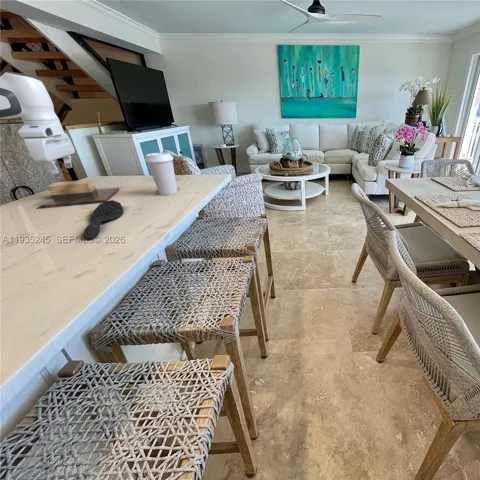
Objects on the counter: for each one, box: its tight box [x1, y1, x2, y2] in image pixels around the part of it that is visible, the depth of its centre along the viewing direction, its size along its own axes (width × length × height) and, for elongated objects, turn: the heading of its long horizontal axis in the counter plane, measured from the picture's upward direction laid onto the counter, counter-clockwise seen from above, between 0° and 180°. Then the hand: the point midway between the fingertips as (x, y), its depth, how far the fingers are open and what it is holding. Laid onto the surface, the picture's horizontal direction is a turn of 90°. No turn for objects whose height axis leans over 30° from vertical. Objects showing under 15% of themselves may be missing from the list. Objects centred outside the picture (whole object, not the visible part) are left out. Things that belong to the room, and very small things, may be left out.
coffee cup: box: [144, 152, 178, 196], centre depth 103 cm, size 10×10×15 cm
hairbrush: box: [83, 199, 124, 241], centre depth 79 cm, size 8×4×25 cm
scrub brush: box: [46, 179, 98, 199], centre depth 99 cm, size 12×5×5 cm, turn 109°
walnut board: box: [36, 187, 120, 209], centre depth 100 cm, size 20×16×1 cm
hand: (63, 170), depth 95 cm, fingers open, 8 cm apart
